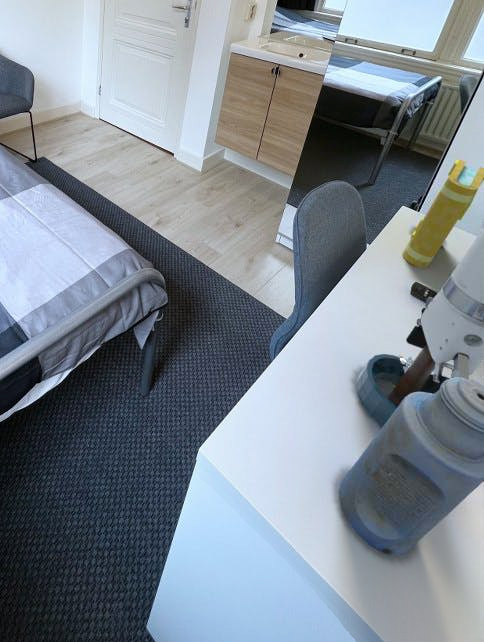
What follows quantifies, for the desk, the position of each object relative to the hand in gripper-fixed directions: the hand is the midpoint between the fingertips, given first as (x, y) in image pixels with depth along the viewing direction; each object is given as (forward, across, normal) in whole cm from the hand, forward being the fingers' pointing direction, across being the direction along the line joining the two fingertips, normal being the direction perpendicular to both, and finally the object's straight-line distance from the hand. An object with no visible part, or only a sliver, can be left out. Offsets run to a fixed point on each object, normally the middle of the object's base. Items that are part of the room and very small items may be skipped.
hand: (422, 368), depth 71 cm
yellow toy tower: (+12, +54, -15) cm, 57 cm away
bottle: (+12, -20, +6) cm, 24 cm away
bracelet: (+11, +4, 0) cm, 12 cm away
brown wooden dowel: (+11, 0, 0) cm, 11 cm away
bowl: (+11, 0, 0) cm, 11 cm away
